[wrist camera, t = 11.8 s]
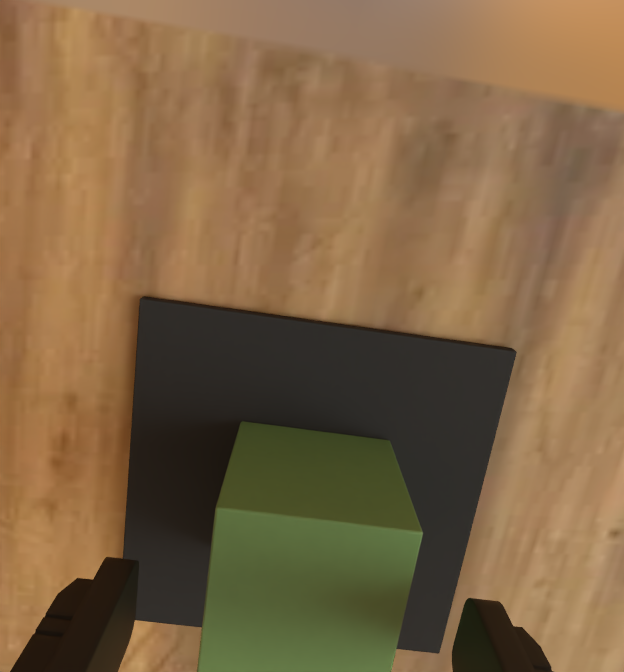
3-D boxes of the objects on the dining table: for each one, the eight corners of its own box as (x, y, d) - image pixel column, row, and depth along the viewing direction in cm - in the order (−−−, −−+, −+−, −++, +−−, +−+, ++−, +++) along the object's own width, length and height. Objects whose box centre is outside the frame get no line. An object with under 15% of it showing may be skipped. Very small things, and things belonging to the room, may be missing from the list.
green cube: (241, 420, 17) (215, 507, 12) (390, 439, 17) (424, 532, 12) (225, 550, 18) (196, 677, 13) (364, 566, 18) (386, 696, 14)
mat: (143, 296, 16) (139, 298, 16) (512, 347, 17) (517, 351, 16) (122, 610, 19) (118, 618, 19) (436, 645, 20) (439, 653, 19)
